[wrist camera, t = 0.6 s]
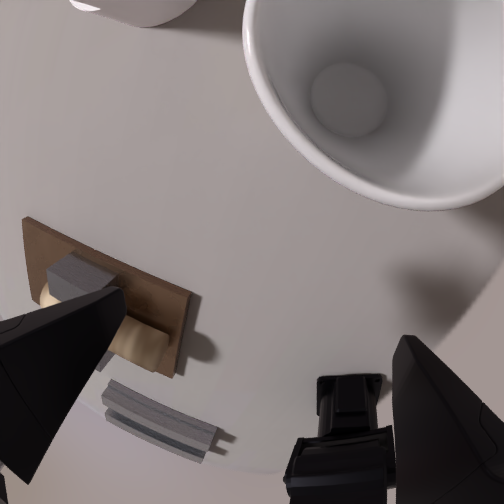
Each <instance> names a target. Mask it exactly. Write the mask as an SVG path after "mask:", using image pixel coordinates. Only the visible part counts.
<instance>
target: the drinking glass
mask: <svg viewBox="0 0 504 504" xmlns="http://www.w3.org/2000/svg"><path fill="white" fill-rule="evenodd" d="M242 37H243V49H244V55H245V60H246V64H247V68H248V71H249V75H250V78H251V80H252V83H253V85H254V88H255V91H256V93H257V95H258V97H259V99H260V101H261V103H262V105H263V107H264V108H265V110H266V111H267V113H268V115H269V116H270V118H271V119H272V121H273V122H274V124H275V125H276V126H277V128H278V129H279V130H280V132H281V133H282V134H283V136H284V137H285V138H286V139H287V140H288V141H289V142H290V144H291V145H292V146H293V147H294V148H295V149H296V150H297V151H298V152H299V153H300V154H301V155H302V156H303V157H304V158H305V159H306V160H307V161H308V162H310V163H311V164H312V165H313V166H315V167H316V168H317V169H318V170H320V171H321V172H322V173H324V174H325V175H326V176H328V177H329V178H331V179H332V180H334V181H335V182H337V183H338V184H340V185H342V186H344V187H345V188H347V189H349V190H351V191H353V192H355V193H357V194H359V195H361V196H363V197H365V198H368V199H371V200H373V201H376V202H379V203H382V204H385V205H389V206H393V207H396V208H402V209H408V210H415V211H444V210H451V209H457V208H461V207H464V206H468V205H471V204H473V203H476V202H478V201H481V200H483V199H485V198H486V197H488V196H490V195H492V194H493V193H495V192H496V191H498V190H499V189H500V188H502V187H503V186H504V0H246V3H245V9H244V14H243V25H242Z"/></svg>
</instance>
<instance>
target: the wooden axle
mask: <svg viewBox="0 0 504 504" xmlns="http://www.w3.org/2000/svg"><path fill="white" fill-rule="evenodd" d="M60 302H61V301H59V300H57V299H56V298H54V297H53V296H51V295H49V288H48V282H47V283H46V284H45V286H44V288H43V290H42V292H41V295H40V306H41V308H45V307H48V306H51V305H54V304H57V303H60ZM168 344H169V335H168V334H166V333H164V332H161V331H159V330H157V329H155V328H153V327H151V326H148V325H146V324H144V323H142V322H140V321H138V320H136V319H134V318H132V317H130V316H128V315H126V316H125V318H124V320H123V322H122V323H121V325H120V327H119V329H118V331H117V333H116V335H115V337H114V339H113V341H112V343H111V344H110V346H109V348H108V350H109V351H111V352H113V353H115V354H117V355H119V356H121V357H122V358H124V359H126V360H128V361H130V362H132V363H134V364H136V365H138V366H140V367H142V368H144V369H146V370H148V371H151V372H155V371H156V370H157V369H158V367H159V366H160V364H161V362H162V360H163V358H164V356H165V353H166V350H167V347H168Z"/></svg>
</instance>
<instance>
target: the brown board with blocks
mask: <svg viewBox="0 0 504 504" xmlns="http://www.w3.org/2000/svg"><path fill="white" fill-rule="evenodd" d="M22 228H23V240H24V250H25V258H26V265H27V272H28V279H29V285H30V290H31V296H32V300H33V301H34V302H36V303H37V304H39V305H40V295H41V292H42V290H43V288H44V286H45V284H46V283H47V282H48V288H49V295H51V296H53V297H54V298H56V299H57V300H59V301H61V302H63V301H67V300H70V299H73V298H76V297H79V296H82V295H85V294H88V293H92V292H95V291H98V290H101V289H104V288H107V287H110V286H114V287H118V288H121V289H122V290H123V292H124V296H125V302H126V307H127V313H126V315H128V316H130V317H132V318H134V319H136V320H138V321H140V322H142V323H144V324H146V325H148V326H151V327H153V328H155V329H157V330H159V331H161V332H164V333H166V334H168V335H169V344H168V347H167V350H166V353H165V356H164V358H163V360H162V362H161V364H160V366H159V367H158V369H157V370H156V372H158V373H160V374H163V375H165V376H167V377H169V378H173V376H174V375H175V373H176V367H177V362H178V357H179V351H180V346H181V341H182V336H183V331H184V326H185V321H186V316H187V312H188V307H189V302H190V298H191V293H192V292H190V291H188V290H185V289H183V288H181V287H178V286H176V285H173V284H171V283H169V282H166V281H164V280H161V279H159V278H157V277H154V276H152V275H150V274H147V273H145V272H143V271H141V270H138V269H136V268H134V267H132V266H129V265H127V264H125V263H123V262H120V261H118V260H116V259H114V258H112V257H109V256H107V255H105V254H103V253H101V252H99V251H96V250H94V249H92V248H90V247H88V246H86V245H84V244H82V243H80V242H78V241H76V240H73V239H71V238H69V237H67V236H65V235H63V234H61V233H59V232H57V231H55V230H53V229H51V228H49V227H47V226H45V225H43V224H41V223H40V222H38V221H36V220H34V219H32V218H30V217H26V218H24V219H22ZM114 354H115V353H113V352H111V351H109V350H107V351H106V353H105V355H104V356H103V358H102V359H101V361H100V362H99V364H98V365H97V367H96V370H97V371H99V372H101V371H102V370H103V368H104V367H105V366H106V365H107V363H108V362H109V361H110V359H111V358H112V357H113V356H114Z"/></svg>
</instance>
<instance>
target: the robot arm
mask: <svg viewBox="0 0 504 504" xmlns="http://www.w3.org/2000/svg"><path fill="white" fill-rule="evenodd" d="M126 313H127V307H126V302H125V296H124V292H123V290H122V289H121V288H118V287H114V286H110V287H107V288H104V289H101V290H98V291H95V292H92V293H88V294H85V295H82V296H79V297H76V298H73V299H70V300H67V301H63V302H60V303H57V304H54V305H51V306H48V307H45V308H42V309H39V310H36V311H33V312H30V313H27V314H23V315H20V316H17V317H14V318H11V319H8V320H4V321H0V471H1V469H2V468H3V467H4V465H6V466H7V467H8V468H9V469H10V470H11V471H12V472H13V473H14V474H16V475H17V476H18V477H19V478H20V479H21V480H23V481H24V482H25V483H26V484H27V485H29V483H30V482H31V480H32V478H33V476H34V474H35V472H36V470H37V468H38V466H39V465H40V463H41V461H42V459H43V457H44V455H45V453H46V451H47V450H48V448H49V446H50V444H51V442H52V439H53V438H54V437H55V435H56V433H57V431H58V430H59V427H60V426H61V424H62V423H63V421H64V419H65V417H66V416H67V414H68V412H69V411H70V409H71V407H72V406H73V404H74V402H75V401H76V399H77V397H78V396H79V394H80V392H81V391H82V389H83V388H84V386H85V384H86V383H87V381H88V380H89V378H90V376H91V375H92V373H93V372H94V370H95V369H96V367H97V365H98V364H99V362H100V361H101V359H102V358H103V356H104V355H105V353H106V351H107V350H108V348H109V346H110V344H111V343H112V341H113V339H114V337H115V335H116V333H117V331H118V329H119V327H120V325H121V323H122V322H123V320H124V318H125V316H126ZM322 381H323V382H322ZM381 384H382V376H381V375H380V374H375V375H358V376H329V377H319V378H318V379H317V415H318V416H319V427H318V437H314V438H298V439H297V442H296V445H295V446H294V449H293V452H292V455H291V458H290V460H289V463H288V466H287V469H286V472H285V476H284V477H283V482H284V483H285V484H286V489H287V493H288V495H289V497H290V504H387V489H392V488H396V504H504V422H503V421H501V420H500V419H499V418H498V417H497V416H496V415H495V414H494V413H493V412H492V411H491V410H490V409H489V407H488V406H487V405H485V403H482V400H481V399H480V398H479V397H478V396H477V395H476V394H475V393H474V392H473V391H472V390H471V389H470V388H469V387H468V386H467V385H466V384H465V383H464V382H463V381H462V380H461V379H460V378H459V377H458V376H457V375H456V374H455V373H454V372H453V371H452V370H451V369H450V368H449V367H448V366H447V365H446V364H445V363H443V361H441V360H440V359H439V358H438V357H437V356H436V355H435V354H434V353H433V352H432V351H431V350H430V349H429V348H428V347H427V346H426V345H425V344H424V343H423V342H422V341H421V340H419V339H418V338H417V337H416V336H414V335H403V336H402V337H401V339H400V341H399V343H398V346H397V348H396V351H395V353H394V355H393V360H392V405H393V406H392V407H393V419H394V434H395V448H394V438H393V430H392V425H389V426H386V427H384V428H379V429H378V424H377V411H376V405H377V401H378V397H379V393H380V389H381ZM395 453H396V460H395ZM0 504H8V500H7V493H6V487H5V479H4V476H3V475H2V474H1V473H0Z"/></svg>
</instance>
